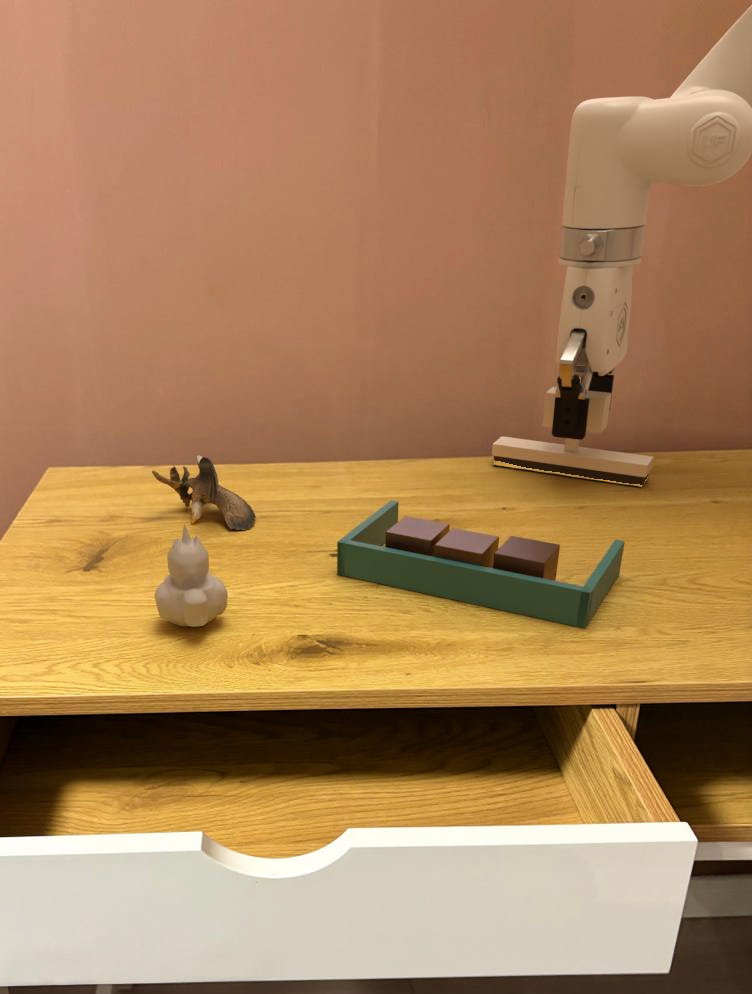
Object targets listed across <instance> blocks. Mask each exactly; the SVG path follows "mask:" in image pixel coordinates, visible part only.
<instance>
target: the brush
mask: <svg viewBox="0 0 752 994" xmlns="http://www.w3.org/2000/svg"><path fill="white" fill-rule="evenodd" d="M556 388H557V386H552V387H551V388H550V389H548V390H547V391H546V392H545V395H544V405H543V414H542V423H541V426H542V427H547V428H552V426H553V415H554V405H555V393H556ZM586 398H590V401H589V410H588V418H587V427H586V433H595V434H602V433H603V431H605V429H607V427H608V421H609V415H610V411H609V408H610V409H611V405H610V401H611V402H612V396H611V393H606V392H597V391H588V392H587V396H586ZM491 447H492V448H491V456H493V461H494V460H495V461H501V462H505V463H509V464H513V465H517V466H521V467H526V468H532V469H539V470H544V471H552V472H560V473H565V474H571V475H579V476H584V477H589V478H594V479H603V480H610V481H616V482H622V483H629V484H640V485H643V484H644V482H645V480H646V479H647V477H648V478H649V474H650V472H651V471H652V469H653V466H654V465H653V464H654V458H655V457H654V456H652V455H644V454H636V453H629V452H622V451H616V450H615V451H613V450H608V449H607V450H606V449H601V448H600V449H598V448H593V447H584V446H580V440H578V439H569V438H564V444H562V443H555V442H548V441H538V440H531V439H525V438H517V437H510V436H502V435H501V436H500V437H498V439H497V440H495V441H494V442H493V443H492V446H491ZM644 485H645V484H644Z"/></svg>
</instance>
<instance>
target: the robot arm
mask: <svg viewBox="0 0 752 994" xmlns="http://www.w3.org/2000/svg"><path fill="white" fill-rule="evenodd" d="M571 116H572V117H571V123H570V128H569V129H570V130H569V131H570V132H569V140H568V141H569V142H568V151H567V152H568V154H567V164H566V173H565V185H564V195H563V196H564V197H563V208H562V218H561V229H560V239H559V241H560V242H559V249H558V265H561V266H564V267H566V273H565V280H564V285H563V289H562V291H563V293H562V300H561V307H560V314H559V315H560V316H559V321H558V322H559V323H558V329H557V331H558V332H557V340H556V342H557V343H556V353H555V355H556V356H555V366H556V369H557V371H558V372H559V375H558V376H557V380H556V383H557V385H556V387H557V388H556V393H555V405H554V415H553V426H552V427H551V436H552V437H554V438H561V439H566V438H569V439H578V440H581V441H582V440H584V438H585V437H586V436H587V432H586V427H587V418H588V410H589V401H590V398H586V396H587V392H588V391H597V392H606V393H611V397H613V396H612V395H613V389H614V387H613V386H614V379H615V374H614V372H615V368H616V367H617V366H618V365H619V364H620V363H621V362H622V361H623V360H624V359H625V357H626V356H627V352H628V343H629V332H630V322H631V321H630V320H631V309H632V296H633V282H634V280H633V279H634V266H636V265H640V264H641V262H642V256H643V248H644V240H645V233H646V226H647V225H646V224H647V218H648V210H649V202H650V196H651V188H652V183H653V184H667V185H675V186H676V185H677V186H684V187H693V188H701V187H704V188H705V187H709V186H714V185H718V184H719V183H722V182H724V181H726V180H728V179H730V178H731V177H733V176H734V175H736V174H737V173H738V172H739V171H740V170H741V169H742V168H743V167H744V166H745V165H746V163H747V162H748V161H749V159H750V158H751V156H752V4H751V5H750V6H749V7H748V8H747V9H746V10H745V12H743V13H742V15H740V17H739V18H737V19H736V21H735V22H734V23H733V24H732V25H731V26H730V27H729V28H728V30H727V31H726V32H725V33H724V35H723V36H722V37H721V38H720V39H719V40H718V41H717V42H716V43H715V44H714V46H713V47H712V48H711V49H710V50H709V51H708V52H707V54H706V55H705V56H704V57H703V58H702V59H701V60H700V62H699V63H698V64H697V65H696V66H695V68H694V69H693V70H692V71H691V72H690V74H688V76H687V77H686V78H685V79H684V80H683V81H682V83H680V85H679V86H678V87H677V89H675V91H674V92H673V94H671V96H670V97H666V98H657V99H654V98H651V97H650V96H649V97H648V96H641V95H640V96H638V95H637V96H635V95H634V96H633V95H632V96H612V97H598V98H590V99H585V100H584V101H582V102H581V103H579V104H578V105H577V107H576V108H575V109H574V111H573V113H572V115H571ZM611 404H612V400H611V401H610V406H611ZM610 410H611V407H610V408H609V412H610Z"/></svg>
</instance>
